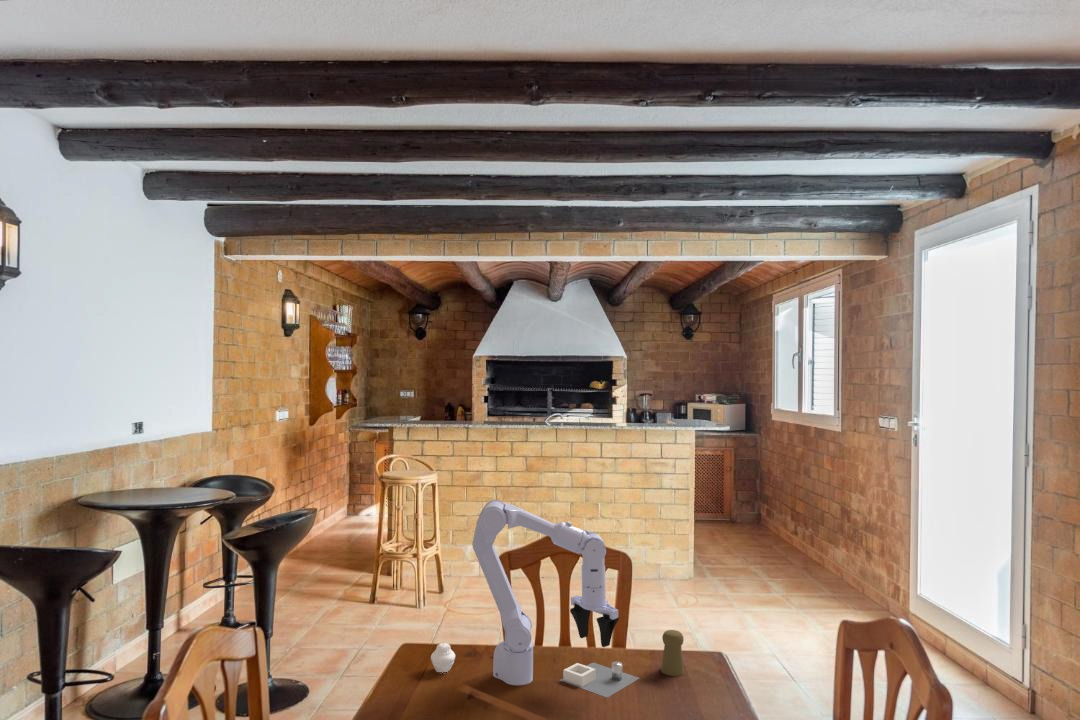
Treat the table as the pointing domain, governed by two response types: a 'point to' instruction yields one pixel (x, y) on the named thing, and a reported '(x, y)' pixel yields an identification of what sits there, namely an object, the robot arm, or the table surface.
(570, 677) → the collar
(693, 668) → the table surface
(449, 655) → the white rounded jar shape
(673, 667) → the cork
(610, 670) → the board
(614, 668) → the post
